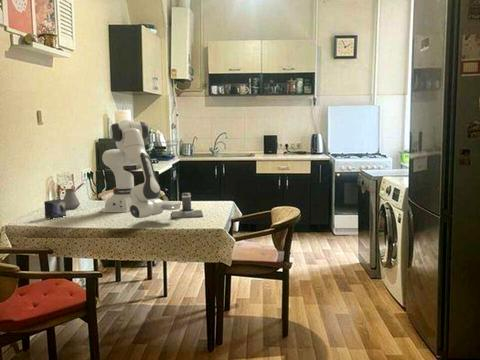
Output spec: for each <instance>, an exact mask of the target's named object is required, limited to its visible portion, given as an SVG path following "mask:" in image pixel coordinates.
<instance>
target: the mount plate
mask: <svg viewBox="0 0 480 360" xmlns="http://www.w3.org/2000/svg"><path fill="white" fill-rule="evenodd" d="M203 217H204V215H203V211H202V209H197V210H195V209H194V208H191V211H183V210H182V208H180V209H179V210H171V220H172V219H173V218H174V219H191V218H203Z"/></svg>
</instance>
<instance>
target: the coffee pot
mask: <svg viewBox="0 0 480 360" xmlns="http://www.w3.org/2000/svg"><path fill="white" fill-rule="evenodd" d="M84 185H86V183H84V182H82V183H81V184H80V185H78V186H77V187H76V189H75V188H65V189H64V191H65V195H64V197H63V199H62V200H65V208H66V210H75V208H76V209H78V207H80V205H81V203H80V202H81V201H79V199H78V197H77V195H76V191H77V190H79V189H80V188H81V187H82V186H84Z"/></svg>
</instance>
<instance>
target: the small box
mask: <svg viewBox="0 0 480 360" xmlns="http://www.w3.org/2000/svg"><path fill="white" fill-rule="evenodd" d="M43 202H44V219H45V218H50V219H49V220H51V219H52V220H54V219H53V218H57V219H59V218H58V217H61V218H64V217H63V216H66V217H67V211H66V210H67V209H66V208H65V200H63V199H61V198H56V199H51V200H46V201H43Z"/></svg>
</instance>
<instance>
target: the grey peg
mask: <svg viewBox="0 0 480 360" xmlns="http://www.w3.org/2000/svg"><path fill="white" fill-rule="evenodd" d="M191 194H192V193H191V192H182V193H181V206H182V208H181V209H182V210H183V211H191V209H192V198H191V197H192V195H191Z"/></svg>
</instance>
